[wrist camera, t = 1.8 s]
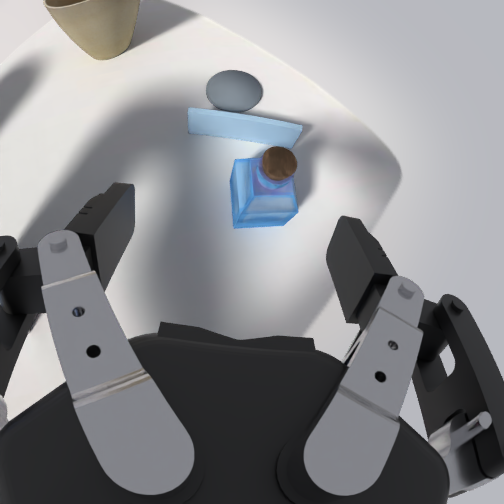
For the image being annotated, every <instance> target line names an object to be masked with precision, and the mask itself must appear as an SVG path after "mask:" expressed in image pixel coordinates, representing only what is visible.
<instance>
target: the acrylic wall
mask: <svg viewBox="0 0 504 504" xmlns="http://www.w3.org/2000/svg"><path fill="white" fill-rule="evenodd" d="M188 131H189V133H191V134H200V135H208V136H216V137H224V138H231V139H238V140H244V141H251V142H257V143H263V144H268V145H274V146H279V147H285V148H290V149H291V148H292V147H293V145H294V143H295V142H296V140H297V139H298V137H299V135H300V134H301V132H302V125H298V124H293V123H289V122H284V121H279V120H274V119H268V118H263V117H257V116H251V115H245V114H238V113H231V112H224V111H217V110H208V109H200V108H190V107H189V109H188Z"/></svg>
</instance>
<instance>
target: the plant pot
mask: <svg viewBox="0 0 504 504" xmlns="http://www.w3.org/2000/svg"><path fill="white" fill-rule="evenodd" d="M43 3H44V5H45V7H46V8H47V10H48V11H49V12H50V14H51V16H52V17H53V18H54V20H55V21H56V22H57V24H58V25H59V26H60V27H61V29H62V30H63V31H64V32H65V33H66V34H67V35H68V36H69V37H70V38H71V39H72V40H73V41H74V42H75V43H76V44H77V45H78V46H79V47H80V48H81V49H82V50H84V51H85V52H86V53H87V54H89V55H90V56H91V57H93V58H94V59H97V60H107V59H111V58H113V57H116V56H118V55H119V54H121V53H123V52H124V51H125V50H126V49H127V48H128V46H129V45H130V42H131V39H132V35H133V32H134V28H135V23H136V19H137V14H138V9H139V3H140V0H44V1H43Z"/></svg>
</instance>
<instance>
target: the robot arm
mask: <svg viewBox="0 0 504 504" xmlns="http://www.w3.org/2000/svg"><path fill="white" fill-rule="evenodd" d="M134 227H135V188H134V185H133V184H126V183H116V182H115V183H113V184H112V186H111V187H110V188H109V189H108V190H107V191H106V192H105V193H104V194H99V195H97V196H95V197H93V198H92V199H90V200H89V201H88V202H87V203H86V205H85V206H84V208H82V209H81V210H80V211H79V214H77V215H76V216H75V217H74V218H73V220H72V221H71V222H70V223H69V224H68V226H67V227H66V228H65V229H64V230H59V231H55V232H52V233H49V234H48V235H46V236H45V237H43V238H42V239H41V240H40V242H39V244H38V247H36V248H27V249H18V245H17V242H16V239H15V238H14V237H12V236H0V504H447V499H448V498H451V497H454V496H457V495H459V494H462V493H464V492H467V491H471V490H474V489H476V488H478V487H480V486H482V485H484V484H486V483H488V482H490V481H492V480H494V479H496V478H498V477H499V476H500V475H502V474H503V473H504V381H503V378H502V376H501V374H500V371H499V369H498V367H497V365H496V362H495V361H494V358H493V356H492V354H491V352H490V350H489V348H488V345H487V343H486V341H485V339H484V337H483V336H482V334H481V332H480V330H479V328H478V326H477V324H476V322H475V320H474V319H473V317H472V315H471V313H470V311H469V310H468V308H467V306H466V305H465V304H464V303H463V302H462V301H461V300H460V299H458V298H457V297H455V296H453V295H450V294H445V295H443V296H442V298H441V299H440V300H439V302H438V303H437V304H436V303H434V302H431V301H428V300H425V299H424V294H423V292H422V290H421V289H420V288H419V286H418V285H417V284H415V283H414V282H413V281H411V280H410V279H407V278H405V277H402V276H398V274H397V273H396V271H395V269H394V267H393V266H392V264H391V262H390V260H389V259H388V257H386V254H385V252H384V251H383V249H382V247H381V245H380V244H379V242H378V241H377V240H376V239H375V238H374V237H373V236H372V235H371V234H370V233H368V231H367V230H366V228H365V226H364V225H363V223H362V221H361V220H360V219H357V218H352V217H347V216H341V217H340V218H339V220H338V222H337V225H336V228H335V230H334V233H333V236H332V238H331V241H330V243H329V246H328V249H327V254H326V261H327V265H328V268H329V271H330V274H331V277H332V280H333V283H334V286H335V289H336V292H337V295H338V298H339V301H340V304H341V307H342V310H343V313H344V317H345V320H346V323H355V324H359V326H360V330H359V332H358V333H357V335H356V337H355V339H354V340H353V342H352V344H351V346H350V348H349V349H348V351H347V353H346V355H345V356H344V358H343V360H342V361H339V360H338V359H336V358H335V357H333V356H331V355H329V354H327V353H324V352H321V351H319V350H315V346H314V340H313V338H304V337H289V336H271V337H264V338H256V339H247V340H236V339H233V338H230V337H227V336H223V335H220V334H217V333H214V332H211V331H208V330H206V329H203V328H200V327H194V326H186V325H179V324H173V323H166V322H161V323H160V327H159V331H158V333H151V334H145V335H140V336H137V337H133V338H131V339H128V340H127V338H126V336H125V334H124V332H123V330H122V328H121V326H120V324H119V322H118V320H117V318H116V316H115V314H114V312H113V310H112V308H111V306H110V303H109V301H108V299H107V297H106V295H105V290H106V288H107V286H108V284H109V281H110V279H111V277H112V275H113V273H114V271H115V269H116V267H117V265H118V263H119V261H120V259H121V257H122V255H123V253H124V251H125V249H126V247H127V245H128V243H129V241H130V239H131V237H132V235H133V232H134ZM38 313H47V317H48V321H49V325H50V329H51V333H52V337H53V340H54V344H55V347H56V351H57V354H58V358H59V361H60V364H61V367H62V370H63V373H64V376H65V379H66V382H64V383H63V384H61V385H60V386H59V387H57V388H56V389H54V390H53V391H52V392H50V393H49V394H47V395H46V396H44V397H43V398H42V399H40V400H39V401H37V402H36V403H35V404H33V405H32V406H30V407H29V408H28V409H26V410H25V411H23V412H22V413H20V414H19V415H18V416H16V417H15V418H13V419H12V420H11V421H8V419H7V406H6V403H5V400H4V399H3V398H4V395H5V392H6V389H7V386H8V383H9V380H10V377H11V374H12V372H13V369H14V366H15V364H16V361H17V359H18V356H19V354H20V351H21V349H22V346H23V344H24V341H25V339H26V337H27V335H28V334H29V333H30V328H31V326H32V323H33V321H34V320H35V318H36V316H37V314H38ZM448 344H449V346H450V349H451V351H452V354H453V356H454V358H455V368H454V371H453V372H452V374H451V375H449V376H448V377H447V374H446V371H445V368H444V366H443V363H442V361H441V358H440V356H439V354H440V353H441V352H442V351H443V350H444V349H445V347H446V346H447V345H448ZM411 377H412V380H413V384H414V387H415V391H416V394H417V398H418V401H419V405H420V409H421V412H422V416H423V420H424V424H425V428H426V432H427V437H428V442H427V441H426V440H425V439H424V438H422V437H421V436H420V435H419V434H418V433H417V432H416V431H415V430H414V429H413V428H412V427H411V426H410V425H409V424H407V423H406V422H405V421H404V420H403V419H402V418H401V417H400V416H399V413H400V410H401V407H402V405H403V402H404V398H405V396H406V393H407V390H408V387H409V384H410V380H411Z"/></svg>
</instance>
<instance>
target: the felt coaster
mask: <svg viewBox="0 0 504 504" xmlns="http://www.w3.org/2000/svg"><path fill="white" fill-rule="evenodd" d="M206 94H207V97H208V99H209V101H210V102H211V103H212V104H213V105H214V106H215V107H217V108H219V109H221V110H224V111H227V112H243V111H247V110H249V109H251V108H253V107H254V106H255V105H256V104H257V103H258V102H259V100H260V97H261V87H260V84H259V83H258V81H257V80H256V79H255V78H254V77H253V76H251V75H249V74H247V73H245V72H242V71H237V70H227V71H223V72H220V73H217V74H216V75H214V76H213V77H212V78H211V79H210V80H209V82H208V84H207V87H206Z"/></svg>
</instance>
